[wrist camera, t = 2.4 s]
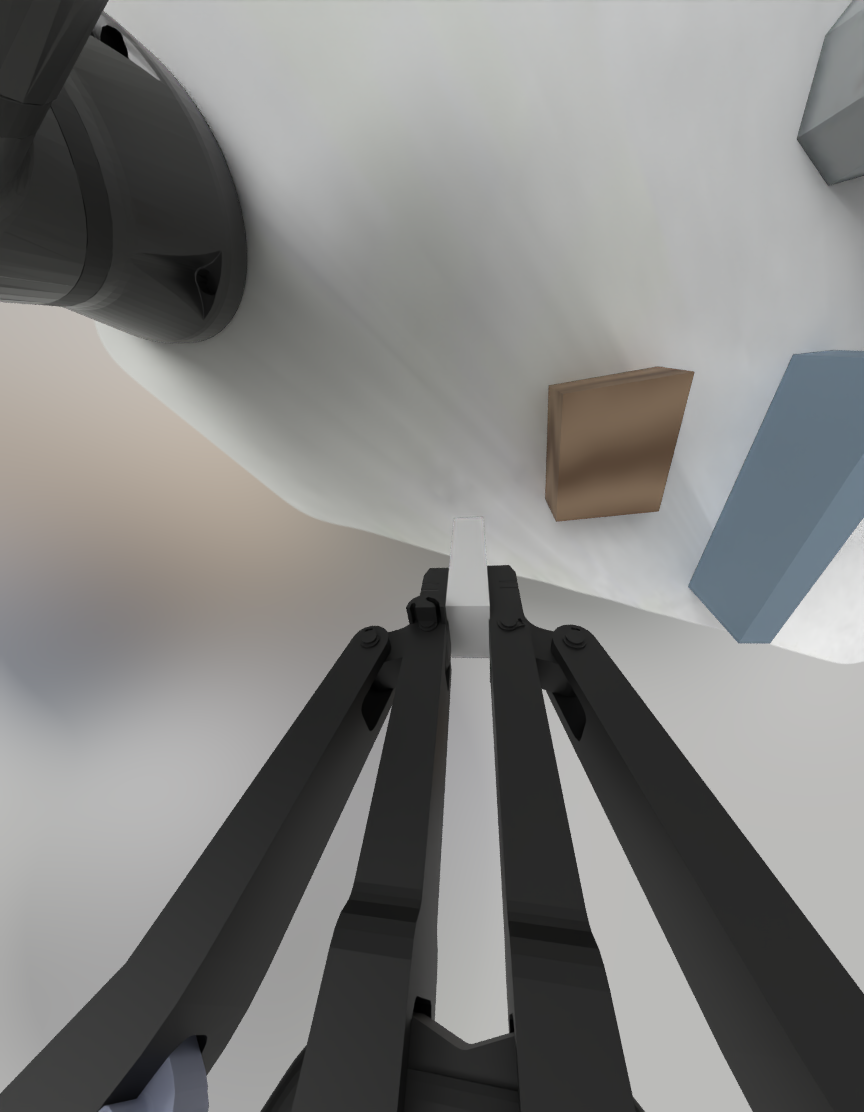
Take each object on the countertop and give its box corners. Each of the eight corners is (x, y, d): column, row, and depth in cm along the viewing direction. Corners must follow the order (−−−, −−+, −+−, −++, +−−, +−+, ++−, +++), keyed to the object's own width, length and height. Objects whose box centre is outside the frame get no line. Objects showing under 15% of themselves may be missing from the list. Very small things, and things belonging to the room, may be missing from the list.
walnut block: (548, 385, 25) (563, 393, 21) (656, 366, 24) (694, 371, 20) (544, 497, 31) (556, 521, 27) (632, 487, 30) (658, 511, 25)
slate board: (793, 354, 23) (924, 360, 16) (833, 350, 22) (985, 354, 16) (688, 586, 35) (738, 643, 28) (713, 585, 35) (769, 643, 28)
